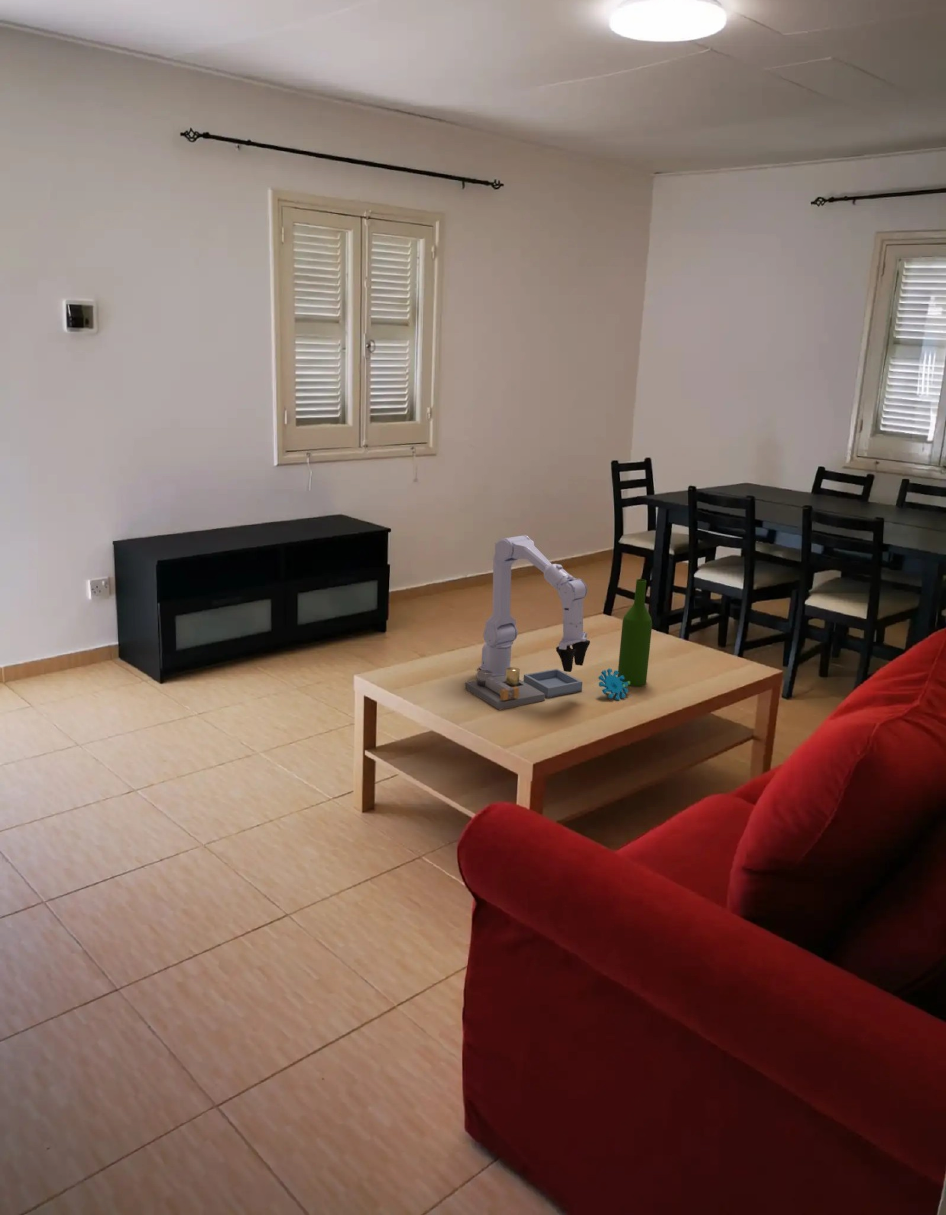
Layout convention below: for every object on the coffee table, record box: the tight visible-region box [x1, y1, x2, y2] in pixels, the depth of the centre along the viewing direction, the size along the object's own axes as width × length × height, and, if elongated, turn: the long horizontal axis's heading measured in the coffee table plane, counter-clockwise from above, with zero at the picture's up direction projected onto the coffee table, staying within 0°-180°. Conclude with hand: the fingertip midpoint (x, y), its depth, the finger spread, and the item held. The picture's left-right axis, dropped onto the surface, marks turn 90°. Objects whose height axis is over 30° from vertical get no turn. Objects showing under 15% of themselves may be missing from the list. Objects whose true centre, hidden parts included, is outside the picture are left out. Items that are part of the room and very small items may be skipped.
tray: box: [522, 668, 583, 699], centre depth 284 cm, size 13×13×3 cm
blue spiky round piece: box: [597, 668, 630, 701], centre depth 280 cm, size 11×6×10 cm
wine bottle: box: [616, 578, 653, 688], centre depth 288 cm, size 9×9×32 cm
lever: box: [476, 669, 519, 700], centre depth 273 cm, size 16×5×4 cm, turn 32°
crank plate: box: [465, 675, 546, 710], centre depth 277 cm, size 18×16×2 cm
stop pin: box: [506, 666, 521, 687], centre depth 280 cm, size 4×4×6 cm
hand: (573, 668), depth 272 cm, fingers open, 7 cm apart
